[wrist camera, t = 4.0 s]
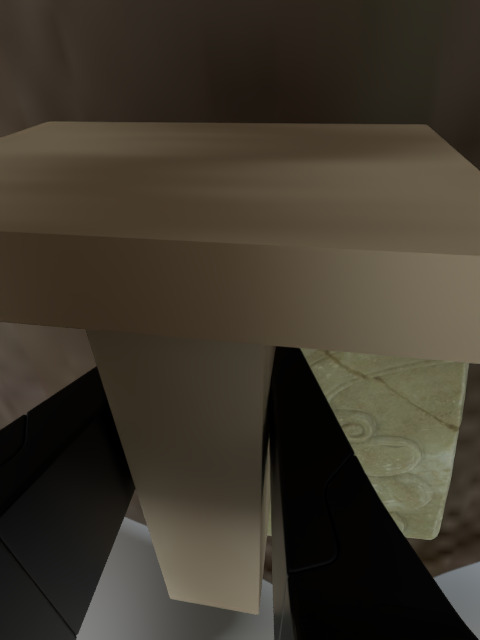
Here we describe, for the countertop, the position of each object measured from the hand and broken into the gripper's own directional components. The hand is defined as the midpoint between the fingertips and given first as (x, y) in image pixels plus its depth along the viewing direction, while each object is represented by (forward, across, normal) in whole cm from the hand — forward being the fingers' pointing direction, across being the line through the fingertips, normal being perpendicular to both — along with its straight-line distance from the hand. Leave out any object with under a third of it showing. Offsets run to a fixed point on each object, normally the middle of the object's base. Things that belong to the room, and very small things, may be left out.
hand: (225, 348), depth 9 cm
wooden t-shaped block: (+1, 0, +2) cm, 2 cm away
